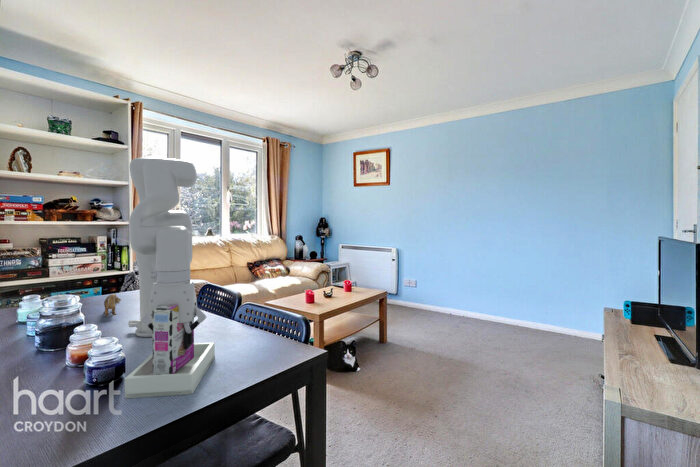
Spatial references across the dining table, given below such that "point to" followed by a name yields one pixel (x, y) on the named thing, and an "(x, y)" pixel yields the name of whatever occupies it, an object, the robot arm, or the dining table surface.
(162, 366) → the candy bar box
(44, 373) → the dining table surface
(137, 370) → the tray
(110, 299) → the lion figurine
